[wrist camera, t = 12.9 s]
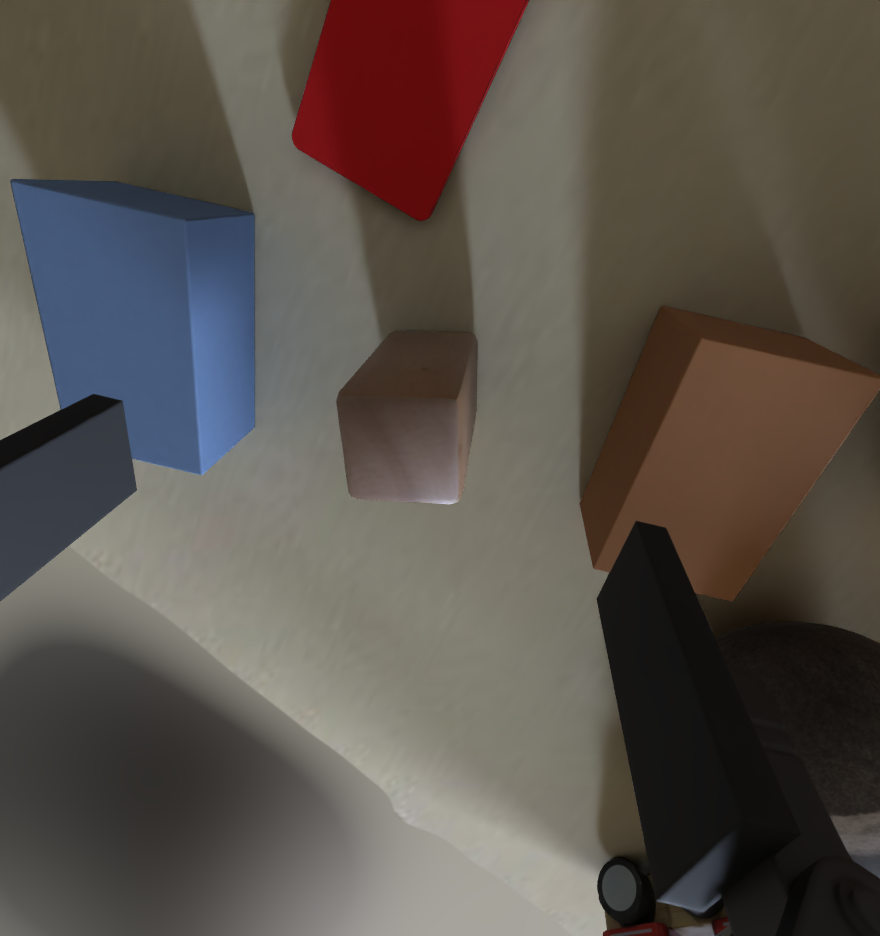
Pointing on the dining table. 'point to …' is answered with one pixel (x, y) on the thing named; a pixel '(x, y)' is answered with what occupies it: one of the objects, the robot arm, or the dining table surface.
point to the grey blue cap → (824, 716)
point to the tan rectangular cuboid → (720, 443)
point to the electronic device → (401, 91)
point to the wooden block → (411, 418)
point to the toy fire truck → (649, 907)
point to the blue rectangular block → (147, 310)
